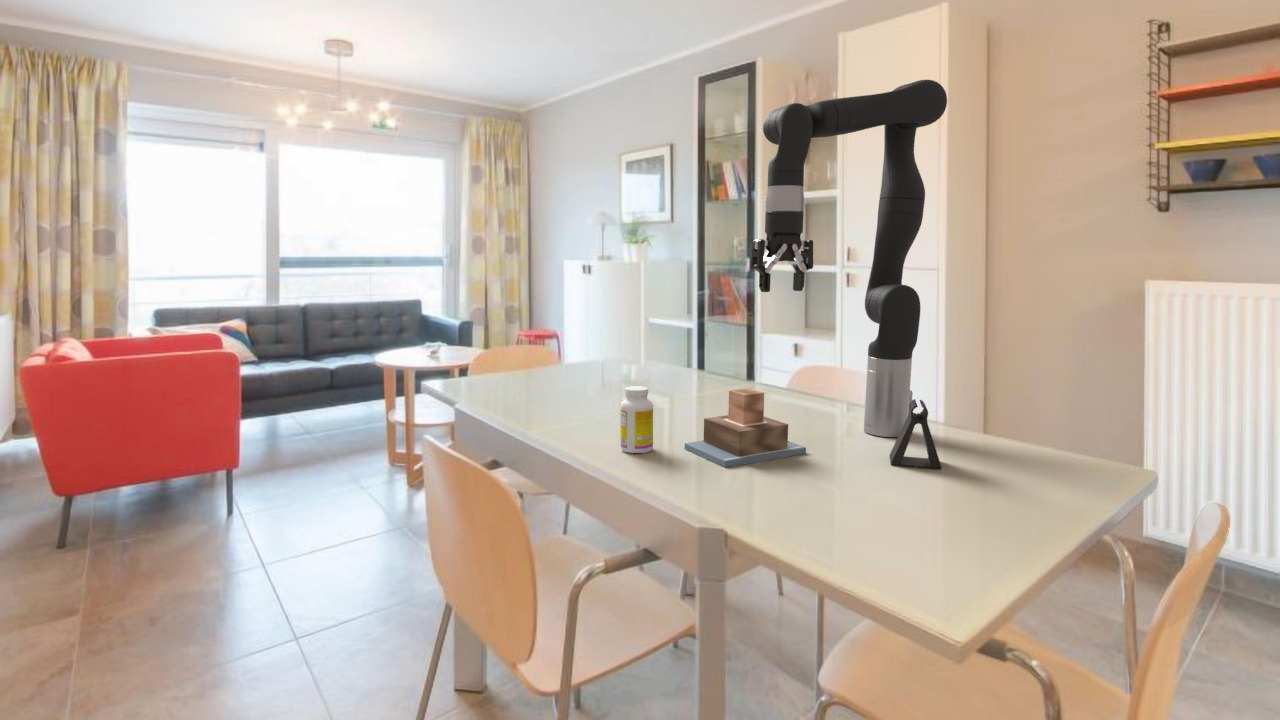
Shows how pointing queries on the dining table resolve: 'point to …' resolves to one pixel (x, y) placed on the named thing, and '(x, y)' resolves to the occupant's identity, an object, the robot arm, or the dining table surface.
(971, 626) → the dining table surface
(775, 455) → the base
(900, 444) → the phone stand
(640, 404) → the supplement bottle
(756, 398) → the terracotta block
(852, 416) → the dining table surface
